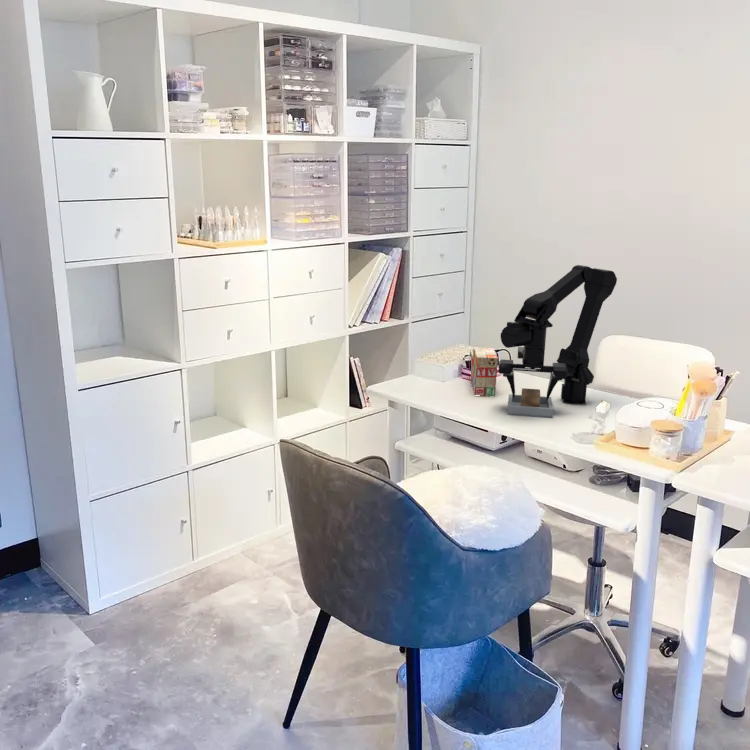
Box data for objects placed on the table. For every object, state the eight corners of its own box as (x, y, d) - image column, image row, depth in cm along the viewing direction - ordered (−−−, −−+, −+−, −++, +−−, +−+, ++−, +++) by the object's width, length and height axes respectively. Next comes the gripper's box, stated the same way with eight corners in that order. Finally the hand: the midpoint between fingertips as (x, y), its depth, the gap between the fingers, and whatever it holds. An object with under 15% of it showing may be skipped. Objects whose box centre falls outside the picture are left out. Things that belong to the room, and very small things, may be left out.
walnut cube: (538, 406, 219) (539, 389, 218) (539, 411, 215) (540, 394, 213) (520, 405, 220) (521, 388, 219) (520, 410, 215) (522, 393, 214)
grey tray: (550, 405, 222) (551, 396, 222) (552, 418, 211) (552, 409, 210) (508, 402, 224) (508, 394, 224) (507, 414, 213) (508, 406, 212)
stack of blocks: (468, 377, 250) (470, 340, 247) (487, 378, 250) (490, 341, 247) (474, 396, 230) (476, 356, 226) (495, 397, 230) (498, 357, 226)
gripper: (567, 339, 219) (562, 392, 223) (500, 335, 222) (497, 388, 226) (570, 348, 208) (565, 403, 212) (500, 344, 211) (496, 398, 215)
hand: (530, 398), depth 217 cm, fingers open, 9 cm apart
